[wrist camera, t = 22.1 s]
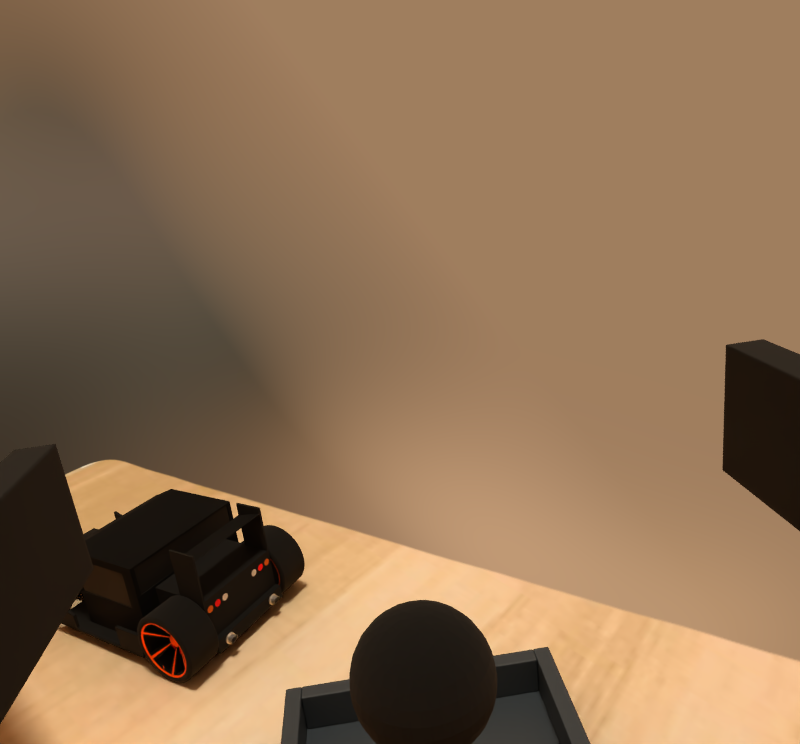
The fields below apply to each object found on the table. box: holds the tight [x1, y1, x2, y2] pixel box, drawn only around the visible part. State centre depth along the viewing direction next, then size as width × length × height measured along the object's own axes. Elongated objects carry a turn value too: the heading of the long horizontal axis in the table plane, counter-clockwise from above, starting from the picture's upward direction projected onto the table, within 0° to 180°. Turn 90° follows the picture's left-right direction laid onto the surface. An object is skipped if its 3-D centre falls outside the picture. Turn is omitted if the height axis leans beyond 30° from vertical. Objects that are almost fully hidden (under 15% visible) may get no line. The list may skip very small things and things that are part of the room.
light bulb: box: [350, 600, 497, 744], centre depth 27 cm, size 6×6×10 cm
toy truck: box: [61, 489, 304, 683], centre depth 46 cm, size 10×20×7 cm, turn 60°
